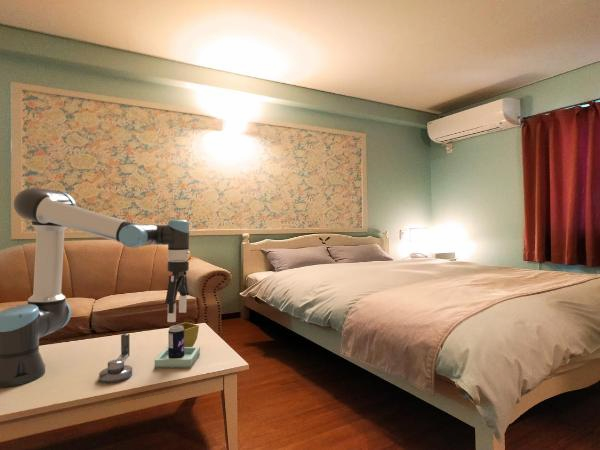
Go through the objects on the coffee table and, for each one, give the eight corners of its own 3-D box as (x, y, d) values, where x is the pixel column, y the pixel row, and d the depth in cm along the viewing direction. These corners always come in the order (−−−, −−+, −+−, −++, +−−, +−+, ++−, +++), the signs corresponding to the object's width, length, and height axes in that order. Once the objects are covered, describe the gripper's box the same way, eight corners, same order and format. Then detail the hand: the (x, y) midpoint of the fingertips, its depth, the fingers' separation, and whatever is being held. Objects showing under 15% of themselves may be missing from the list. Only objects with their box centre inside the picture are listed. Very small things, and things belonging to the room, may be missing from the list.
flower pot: (199, 346, 149) (199, 325, 149) (182, 352, 141) (182, 330, 141) (185, 342, 153) (185, 322, 153) (168, 348, 146) (168, 326, 146)
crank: (121, 373, 117) (121, 346, 117) (105, 374, 116) (105, 347, 116) (133, 356, 131) (133, 332, 131) (119, 357, 130) (119, 333, 130)
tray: (154, 368, 126) (154, 360, 126) (166, 355, 139) (166, 347, 139) (191, 367, 126) (191, 359, 126) (199, 354, 139) (199, 346, 139)
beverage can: (179, 361, 129) (179, 329, 129) (165, 360, 130) (165, 328, 130) (187, 356, 135) (187, 325, 135) (173, 355, 136) (173, 324, 136)
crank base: (92, 383, 113) (92, 376, 113) (108, 371, 123) (108, 364, 123) (124, 383, 114) (124, 376, 114) (137, 370, 124) (137, 364, 124)
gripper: (178, 264, 120) (177, 326, 120) (196, 257, 145) (195, 308, 145) (156, 264, 120) (155, 326, 120) (178, 257, 145) (177, 308, 145)
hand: (177, 316), depth 132 cm, fingers open, 13 cm apart
